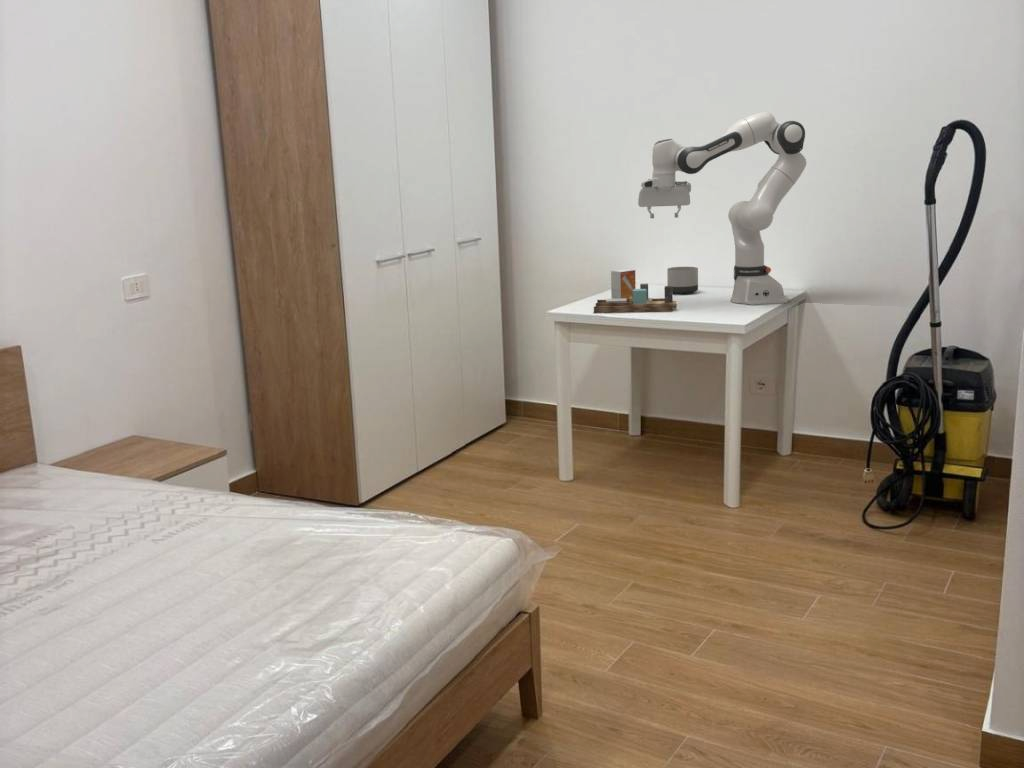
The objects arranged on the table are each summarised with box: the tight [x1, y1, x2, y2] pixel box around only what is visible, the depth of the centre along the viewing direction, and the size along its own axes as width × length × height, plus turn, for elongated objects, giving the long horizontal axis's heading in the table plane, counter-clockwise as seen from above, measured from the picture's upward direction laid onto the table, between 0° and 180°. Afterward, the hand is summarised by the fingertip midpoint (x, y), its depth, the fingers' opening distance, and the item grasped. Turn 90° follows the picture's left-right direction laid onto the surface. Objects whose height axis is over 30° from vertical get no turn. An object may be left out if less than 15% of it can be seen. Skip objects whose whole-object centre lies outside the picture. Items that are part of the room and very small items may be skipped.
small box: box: [610, 268, 637, 299], centre depth 402 cm, size 8×6×13 cm
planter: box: [666, 266, 699, 295], centre depth 417 cm, size 13×13×10 cm
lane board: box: [593, 297, 673, 314], centre depth 385 cm, size 30×17×2 cm, turn 80°
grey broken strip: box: [605, 283, 653, 303], centre depth 389 cm, size 18×6×8 cm, turn 80°
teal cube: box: [633, 288, 647, 304], centre depth 380 cm, size 5×5×5 cm
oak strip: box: [629, 285, 678, 309], centre depth 379 cm, size 18×6×8 cm, turn 80°
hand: (664, 217), depth 386 cm, fingers open, 8 cm apart
